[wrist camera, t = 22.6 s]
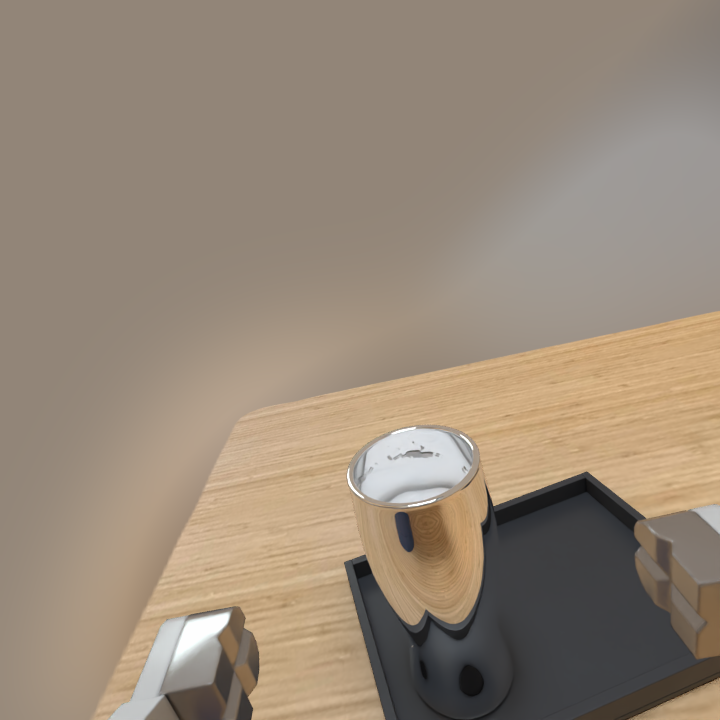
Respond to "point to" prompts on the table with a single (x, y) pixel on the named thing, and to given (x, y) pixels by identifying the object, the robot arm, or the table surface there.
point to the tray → (555, 616)
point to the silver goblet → (436, 561)
